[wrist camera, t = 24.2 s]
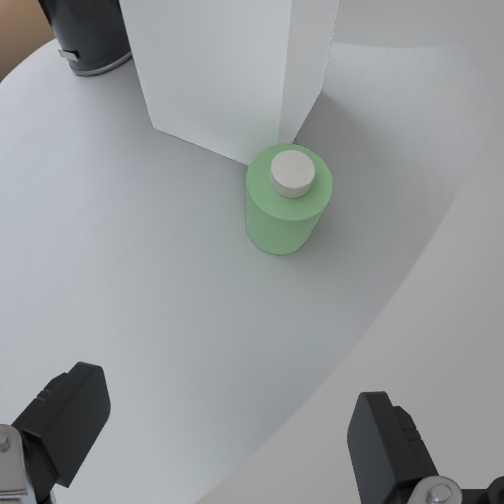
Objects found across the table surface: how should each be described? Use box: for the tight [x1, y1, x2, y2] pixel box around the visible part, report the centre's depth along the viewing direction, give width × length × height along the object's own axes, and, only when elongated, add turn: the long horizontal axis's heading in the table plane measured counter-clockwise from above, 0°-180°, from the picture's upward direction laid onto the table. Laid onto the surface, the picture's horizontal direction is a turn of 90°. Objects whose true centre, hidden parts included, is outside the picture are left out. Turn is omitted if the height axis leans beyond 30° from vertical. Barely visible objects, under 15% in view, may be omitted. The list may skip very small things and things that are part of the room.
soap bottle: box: [246, 144, 333, 255], centre depth 21 cm, size 5×5×8 cm
